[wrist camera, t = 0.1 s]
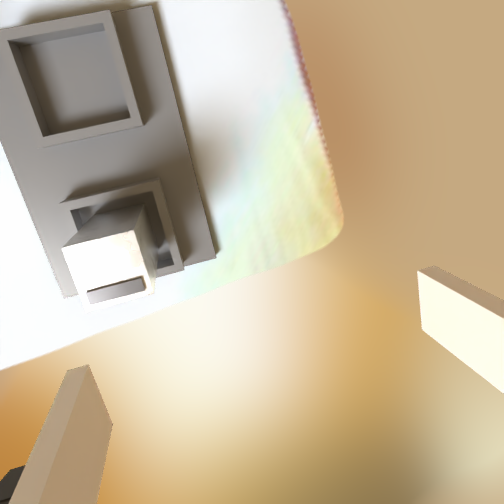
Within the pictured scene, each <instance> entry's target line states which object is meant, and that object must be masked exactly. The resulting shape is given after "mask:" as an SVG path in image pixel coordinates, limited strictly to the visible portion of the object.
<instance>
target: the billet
mask: <svg viewBox="0 0 504 504" xmlns="http://www.w3.org/2000/svg"><path fill="white" fill-rule="evenodd" d="M62 251H63V253H64V256H65V258H66V261H67V264H68V266H69V269H70V271H71V274H72V277H73V279H74V282H75V284H76V287H77V289H78V292H79V295H80V297H81V300H82V302H83V305H84V307H85V310H86V312H87V311H91V310H95V309H99V308H102V307H106V306H110V305H113V304H117V303H121V302H124V301H128V300H132V299H135V298H139V297H143V296H146V295H150V294H154V289H155V280H156V271H157V262H158V253H159V248H158V245H157V242H156V238H155V235H154V232H153V228H152V225H151V222H150V219H149V215H148V212H147V209H146V205H145V203H141V204H137V205H132V206H128V207H124V208H120V209H116V210H112V211H108V212H104V213H100V214H95V215H93V216H92V217H91V218H90V219H89V220H88V221H87V222H86V223H85V224H84V225H83V226H82V228H81V229H80V230H79V231H78V232H77V233H76V234H75V235H74V236H73V237H72V238H71V239H70V240H69V241H68V242H67V243H66V244H65V245H64V246H63V247H62Z"/></svg>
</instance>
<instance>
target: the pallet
mask: <svg viewBox="0 0 504 504" xmlns="http://www.w3.org/2000/svg"><path fill="white" fill-rule="evenodd" d="M0 141H1V144H2V146H3V149H4V151H5V154H6V156H7V159H8V161H9V164H10V166H11V169H12V171H13V173H14V176H15V178H16V181H17V183H18V186H19V188H20V191H21V193H22V196H23V198H24V201H25V203H26V206H27V208H28V211H29V213H30V216H31V218H32V221H33V223H34V226H35V228H36V230H37V233H38V235H39V238H40V240H41V243H42V245H43V248H44V250H45V253H46V255H47V258H48V260H49V263H50V265H51V268H52V270H53V273H54V275H55V278H56V280H57V283H58V285H59V287H60V290H61V292H62V295H63V297H64V298H68V297H72V296H75V295H79V292H78V289H77V287H76V284H75V282H74V279H73V277H72V274H71V271H70V269H69V266H68V264H67V261H66V258H65V256H64V253H63V251H62V247H63V246H64V245H65V244H66V243H67V242H68V241H69V240H70V239H71V238H72V237H73V236H74V235H75V234H76V233H77V232H78V231H79V230H80V229H81V228H82V226H83V225H84V224H85V223H86V222H87V221H88V220H89V219H90V218H91V217H92V216H93V215H95V214H100V213H104V212H108V211H112V210H116V209H120V208H124V207H128V206H132V205H137V204H141V203H145V205H146V209H147V212H148V215H149V219H150V222H151V225H152V228H153V232H154V235H155V238H156V242H157V245H158V248H159V253H158V262H157V271H156V278H157V277H161V276H164V275H168V274H172V273H176V272H179V271H183V270H184V266H188V265H192V264H196V263H199V262H203V261H207V260H211V259H215V258H216V254H215V250H214V247H213V243H212V239H211V235H210V231H209V227H208V223H207V219H206V215H205V211H204V208H203V204H202V200H201V196H200V192H199V188H198V184H197V180H196V176H195V173H194V169H193V165H192V161H191V157H190V153H189V149H188V145H187V141H186V137H185V134H184V130H183V126H182V122H181V118H180V114H179V110H178V106H177V102H176V99H175V95H174V91H173V87H172V83H171V79H170V75H169V71H168V67H167V63H166V60H165V56H164V52H163V48H162V44H161V40H160V36H159V32H158V28H157V25H156V21H155V17H154V13H153V9H152V5H150V6H144V7H139V8H133V9H128V10H122V11H117V12H112V13H111V12H110V10H105V11H99V12H94V13H88V14H83V15H77V16H72V17H67V18H61V19H56V20H50V21H45V22H39V23H34V24H28V25H23V26H17V27H12V28H6V29H1V30H0Z"/></svg>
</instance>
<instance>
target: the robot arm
mask: <svg viewBox="0 0 504 504" xmlns="http://www.w3.org/2000/svg"><path fill="white" fill-rule="evenodd" d="M417 272H418V284H419V297H420V310H421V322H422V330H423V331H425V332H426V333H427V334H428V335H430V336H431V337H432V338H433V339H435V340H436V341H437V342H439V343H440V344H441V345H442V346H444V347H445V348H446V349H448V350H449V351H450V352H452V353H453V354H454V355H455V356H456V357H458V358H459V359H460V360H462V361H463V362H464V363H465V364H467V365H468V366H469V367H471V368H472V369H473V370H474V371H476V372H477V373H478V374H479V375H481V376H482V377H483V378H485V379H486V380H487V381H488V382H490V383H491V384H492V385H493V386H495V387H496V388H497V389H499V390H500V391H501V392H503V393H504V300H502V299H500V298H498V297H496V296H494V295H492V294H490V293H488V292H486V291H484V290H482V289H480V288H478V287H476V286H474V285H472V284H470V283H468V282H466V281H464V280H462V279H460V278H458V277H456V276H454V275H452V274H450V273H448V272H446V271H444V270H442V269H440V268H438V267H436V266H432V267H428V268H425V269H421V270H418V271H417ZM112 425H113V424H112V421H111V419H110V416H109V414H108V412H107V409H106V406H105V404H104V402H103V399H102V397H101V394H100V392H99V389H98V387H97V384H96V382H95V379H94V377H93V374H92V372H91V369H90V367H89V365H86V366H82V367H78V368H75V369H71V370H68V371H67V372H66V375H65V377H64V379H63V381H62V384H61V386H60V388H59V391H58V393H57V395H56V397H55V399H54V402H53V404H52V406H51V409H50V411H49V413H48V416H47V418H46V420H45V422H44V424H43V427H42V429H41V431H40V434H39V436H38V438H37V440H36V443H35V445H34V447H33V449H32V452H31V454H30V456H29V459H28V461H27V463H26V465H24V466H21V467H18V468H15V469H11V470H10V471H9V472H8V473H7V474H6V475H5V476H4V478H3V479H2V480H1V481H0V504H97V499H98V494H99V489H100V484H101V480H102V474H103V469H104V465H105V460H106V454H107V450H108V445H109V440H110V435H111V430H112Z"/></svg>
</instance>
